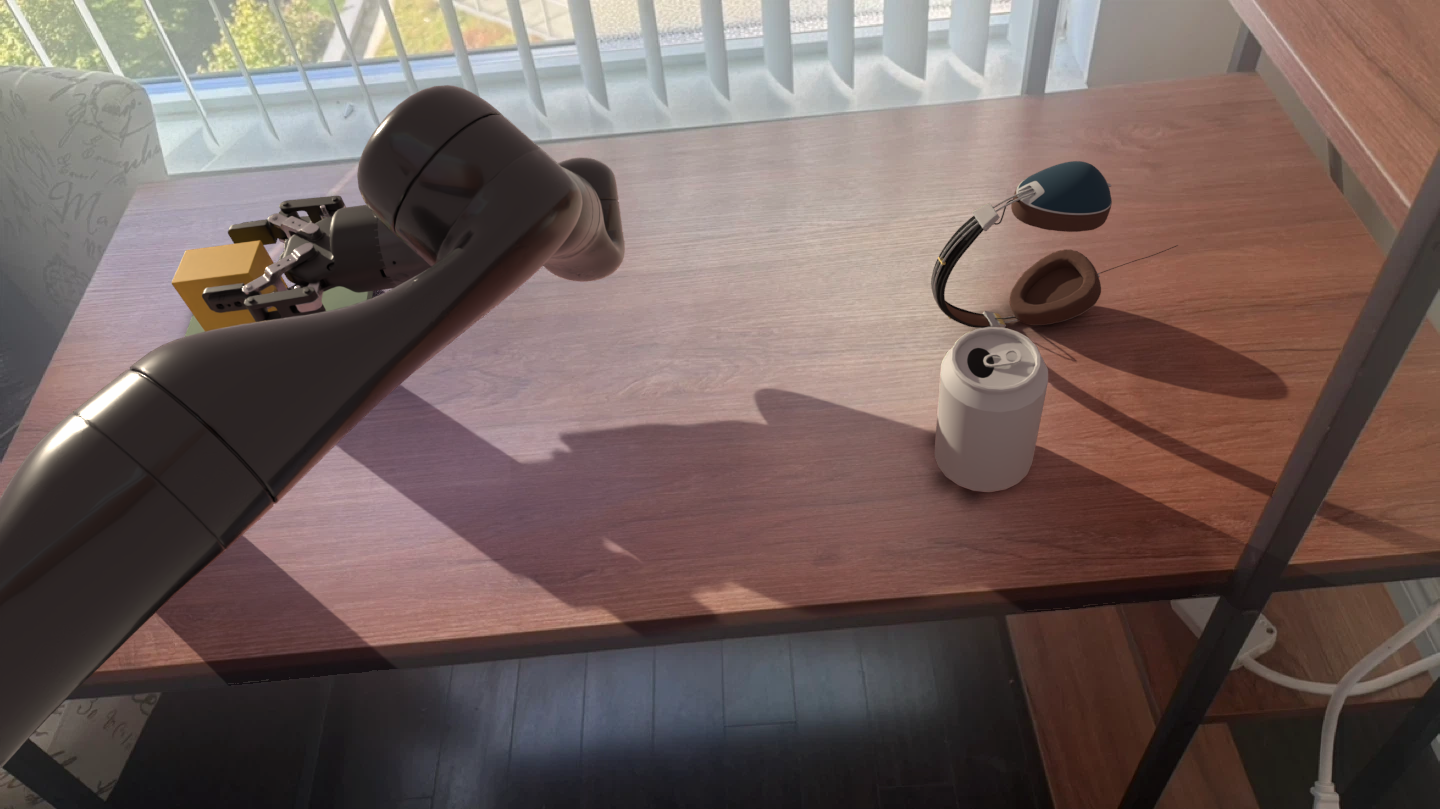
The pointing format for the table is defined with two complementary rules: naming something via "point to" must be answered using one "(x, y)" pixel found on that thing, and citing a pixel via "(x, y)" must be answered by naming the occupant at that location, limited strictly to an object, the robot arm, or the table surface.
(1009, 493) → the table surface
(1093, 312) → the table surface
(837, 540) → the table surface
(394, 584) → the table surface
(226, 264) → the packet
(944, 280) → the headphones
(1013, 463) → the can
